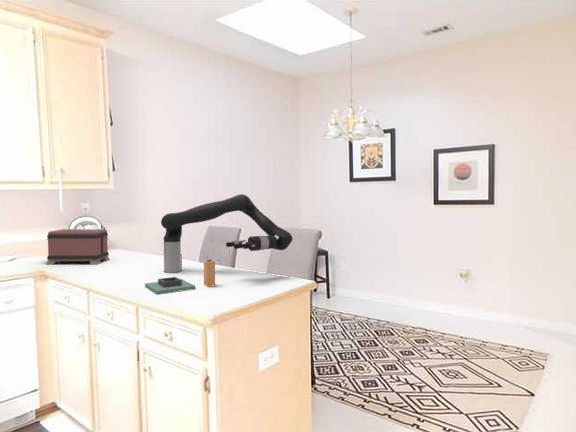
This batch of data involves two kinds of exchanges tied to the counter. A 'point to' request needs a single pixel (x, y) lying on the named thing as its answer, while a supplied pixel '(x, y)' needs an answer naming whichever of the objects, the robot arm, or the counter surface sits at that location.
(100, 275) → the counter surface
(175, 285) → the board
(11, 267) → the counter surface
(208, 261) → the plug
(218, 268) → the counter surface
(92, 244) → the reddish brown chest
